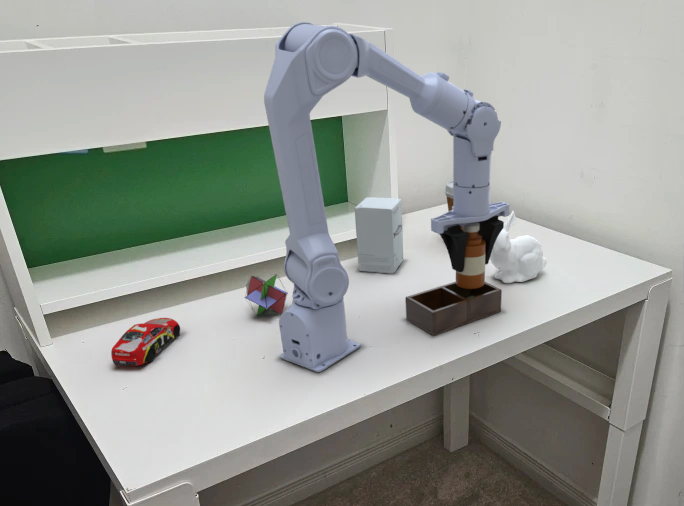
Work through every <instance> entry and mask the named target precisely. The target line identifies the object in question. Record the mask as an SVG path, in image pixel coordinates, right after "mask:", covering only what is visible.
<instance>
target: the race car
mask: <svg viewBox="0 0 684 506" xmlns="http://www.w3.org/2000/svg"><path fill="white" fill-rule="evenodd" d="M180 333H181V325H180V324H179V323H178V321H176V320H175V319H173V318H171V317H159V318H152V319H149V320H147V321H145V322H144V323H143V322H142V323H137V324H133V325H132V326H131V327H130V328H128V329H127V330H126V331H125V332H124V333H123V334H122V335H121V337H120V338H119V339H118V340H117V341H116V343H115V344H114V345H113V346H112V348H111V350H110V351H111V352H110V354H111V355H110V356H111V360H112V363H113V364H114V365H115V366H128V367H129V366H130V367H134V366H136V367H137V366H141V365H144V364H147V363H151V362H153V361H154V359H155V356H157V354H159V352H161V351H162V350H163V349H164V348H165V347H166V346H168V345H169V344H170V342H172V341H173V340H174V339H175V338H179V336H180Z"/></svg>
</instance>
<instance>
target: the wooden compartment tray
mask: <svg viewBox="0 0 684 506" xmlns="http://www.w3.org/2000/svg"><path fill="white" fill-rule="evenodd" d="M502 293H503V290H502V289H501V288H499V287H497V286H495V285H493V284H491V283H488V282H487V281H485V283H484V285H483V286H482V287H480V288H475V289H466V288H461V287H459V286H457V285H456V281H452V282H449V283H446V284H443V285H440V286H436V287H434V288H430V289H427V290H424V291H420V292H417V293H414V294H411V295H408V296H405V316H406V319H405V320H406V321H408V322H409V323H411V324H413V325H415V326H416V327H418V328H419V329H420V330H423V331H424V332H426V333H428V334H429V335H431V336H433V337H435V336H438V335H440V334H442V333H446V332H448V331H451V330H454V329H457V328H459V327H463V326H465V325H467V324H470V323H473V322H476V321H480V320H481V319H485V318H488V317H489V316H492V315H496V314H498V313H501V311H502Z"/></svg>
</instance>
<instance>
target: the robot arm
mask: <svg viewBox="0 0 684 506" xmlns="http://www.w3.org/2000/svg"><path fill="white" fill-rule="evenodd" d="M351 77H354V78H359V79H360V78H363V77H368V78H370V79H371V80H373V81H375V82H378V83H379V84H382V85H383V86H386V87H387V88H389V89H391V90H393V91H395V92H397V93H398V94H400V95H403V96H405V97H407V98H408V99H409V102H410V106H411V109H412V111H413V112H414V113H416V114H417V115H418V116H421V117H422V118H425V119H426V120H428V121H430V122H432V123H434V124H436V125H437V126H439V127H441V128H442V129H445V130H446V131H447V133H448V134H449V135H450V136H451V137H452V139H453V140H452V141H453V144H452V145H453V146H452V147H453V149H452V150H453V151H452V152H453V154H452V157H453V159H452V160H453V163H452V164H453V165H452V166H453V169H452V170H453V175H452V177H453V178H452V180H453V182H454V183H453V206H452V210H451V211H449V212H448V211H447V212H445V213H442V214H441V215H438V216H435V217H433V218H430V231H431V232H433V233H435V234H438V235H439V236H440V238H441V240H442V242H443V243H444V245H445V248H446V250H447V253H448V256H449V260H450V264H451V269H452V270H454V271H455V272H456V271H458V272H463V270H464V260H465V249H466V244H467V240H468V238H469V234H467V233H465V232H463V229H461V226H465V225H469V224H472V223H476V222H478V223H479V231H478V235H481V236H482V239H483V240H485V242H486V247H485V266H486V265H489V262H490V256H491V252H492V249H493V246H494V244H495V241H496V239H497V237H498V235H499V234H500V232H501V231H502V229H503V228H504V223H505V221H503V220H501V219H499V217H503V218H506V217H509V216H510V203H507V202H504V201H498V202H491V181H492V179H491V177H492V176H491V175H492V169H491V168H492V152H493V151H494V143H495V140H496V138H497V136H498V135H499V132H500V130H501V126H502V121H501V120H500V119H499V117H498V113H497V111H496V109H495V107H494V106H493V105H492V104H491V103H489V102H485V101H482V100H477V99H475V98H474V92H473V91H471V90H470V89H466V88H464V89H461V88H460V87H458V86H457V85H455V84H453V83H451V81H449V79H450V76H449V75H448V74H447V73H445V72H442V71H437V72H436V73H435V72H432V71H430V72H426V73H424V74H422V75H420V74H419V73H417V72H415V71H414V70H413V69H411V68H410V67H408V66H407V65H405V64H404V63H402V62H400V61H399V60H398V59H396V58H394V56H392V55H390V54H388V53H386V51H384V50H382V49H381V48H379V47H378V46H376V45H375V44H373V43H372V42H370V41H368V40H366V39H365V38H363V37H361V36H359V35H356V34H354V33H348V32H347V31H346V30H345V29H343V28H341V27H340V26H337V25H325V26H324V25H317V24H313V23H311V22H305V21H303V22H301V21H300V22H297V23H294V24H293V25H291V26H290V27H289V28H288V29H287V30H286V31H285V32H284V33H283V34H282V36H281V37H280V38H279V39H278V40H277V42H276V43H275V45H274V60H273V64H272V67H271V71H270V73H269V78H268V80H267V83H266V87H265V90H264V93H263V99H264V100H263V102H264V108H265V114H266V119H267V123H268V128H269V135H270V138H271V144H272V150H273V154H274V159H275V164H276V171H277V175H278V180H279V187H280V191H281V195H282V201H283V206H284V212H285V215H286V221H287V226H288V227H287V228H288V231H289V234H288V236H287V238H286V239H285V241H284V242H285V243H284V244H285V248H286V249H285V250H286V253H285V258H284V261H283V271H284V275H285V277H286V278H287V279H288V280H289V281H290V282H291V283H292V284H293V290H292V302H291V304H290V305H289V306H288V308H287V309H286V310H285V311H283V312H282V314H280V317H279V320H278V325H279V333H280V339H281V346H282V353H281V354H279V357H280V359H282V360H284V361H287V362H290V363H292V364H295V365H298V366H300V367H303V368H305V369H308V370H311V371H313V372H317V373H320V372H322V371H324V370H326V369H327V368H329V367H330V366H332V365H334V364H336V363H338V362H339V361H341V360H342V359H343V358H345V357H346V356H348V355H349V354H351V353H353V352H354V351H356V350H357V349H359V348H360V347H361V343H360V342H357V341H355V340H351V339H348V332H347V331H348V330H347V320H346V319H347V318H346V309H345V300H344V299H345V298H344V296H345V295H346V294H347V292H348V289H349V284H350V279H349V275H348V272H347V270H346V269H345V268H344V267H343V265H342V264H341V261H340V257H339V252H338V249H337V247H336V245H335V243H334V242H333V239H332V237H331V235H330V233H329V226H328V221H327V220H328V219H327V214H326V208H325V202H324V201H325V200H324V197H323V189H322V183H321V177H320V172H319V166H318V165H319V163H318V158H317V151H316V145H315V140H314V133H313V128H312V121H311V112H312V111H313V109H314V108H315V107H316V106H317V105H318V104H319V102H320V101H321V100H322V98H323V97H325V95H328V93H330V92H331V91H333V90H335V89H337V88H338V87H340V86H341V85H343V84H345V82H347V81H348V80H349V79H350V78H351Z"/></svg>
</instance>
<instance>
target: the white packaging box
mask: <svg viewBox="0 0 684 506" xmlns="http://www.w3.org/2000/svg"><path fill="white" fill-rule="evenodd" d="M402 205H403V204H402V198H395V197H394V198H393V197H373V196H372V197H371V196H367V197H365V198H364V199H362V201H360V202H359V203H358V204H357V205H356V206H355V207H354V221H355V233H356V235H355V236H356V245H357V246H356V249H357V261H358V262H357V263H358V271H360V272H370V273H379V274H380V273H381V274H392V275H393V274H395V273H396V271H397V269H398V268H399V267H400V266H401V264H402V263H403V262H404V234H403V232H404V231H403V207H402Z"/></svg>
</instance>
